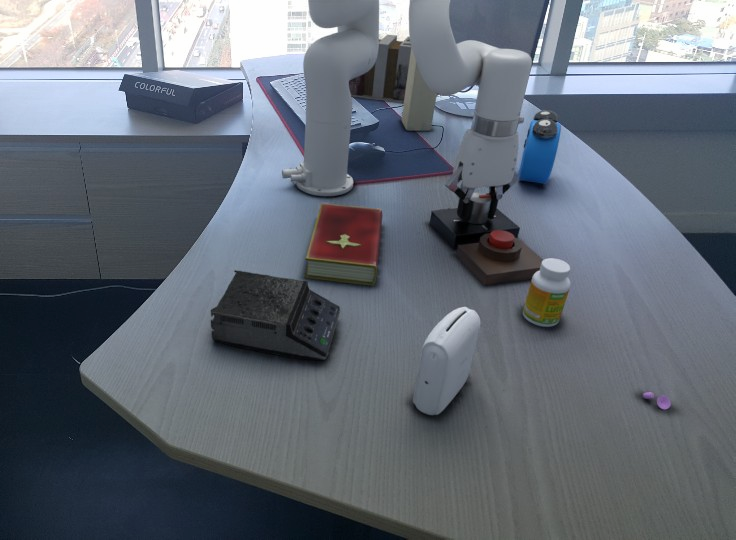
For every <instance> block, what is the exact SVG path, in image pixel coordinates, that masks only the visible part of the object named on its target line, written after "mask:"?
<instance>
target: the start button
mask: <svg viewBox="0 0 736 540" xmlns="http://www.w3.org/2000/svg"><path fill="white" fill-rule="evenodd" d="M513 242H514V235H513V234H511V233H510V232H507V231H503V230H495V231H492V232H491V233H490V237H489V244H490V245H491V246H493V247H496V248H500V249H510V248H512V246H513Z"/></svg>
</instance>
